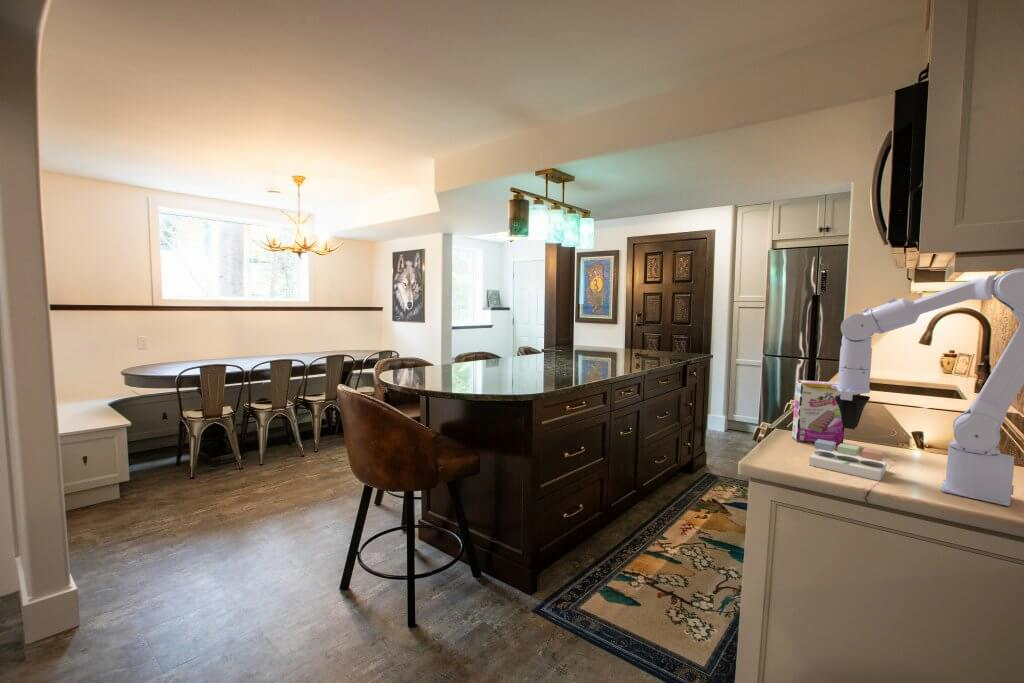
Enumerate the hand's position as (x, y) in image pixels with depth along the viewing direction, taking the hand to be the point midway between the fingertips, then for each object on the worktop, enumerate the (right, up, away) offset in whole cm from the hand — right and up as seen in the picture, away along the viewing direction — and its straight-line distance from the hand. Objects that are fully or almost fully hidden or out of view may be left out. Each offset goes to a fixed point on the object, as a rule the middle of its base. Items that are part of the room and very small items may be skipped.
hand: (850, 427), depth 106 cm
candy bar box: (+6, -8, +21) cm, 24 cm away
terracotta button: (+3, -6, -3) cm, 7 cm away
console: (0, -9, +1) cm, 9 cm away
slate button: (-3, -6, +4) cm, 7 cm away
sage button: (0, -6, 0) cm, 6 cm away
